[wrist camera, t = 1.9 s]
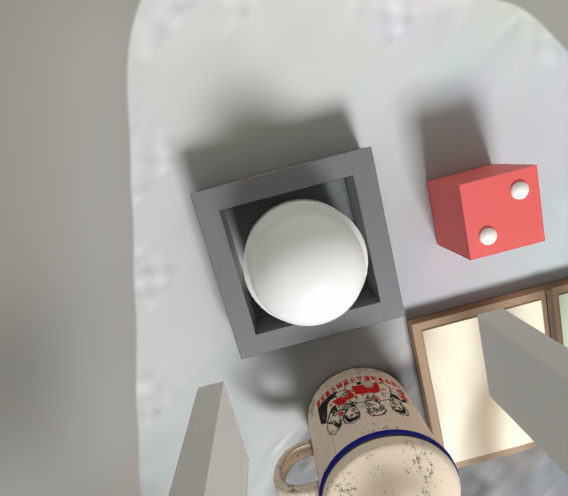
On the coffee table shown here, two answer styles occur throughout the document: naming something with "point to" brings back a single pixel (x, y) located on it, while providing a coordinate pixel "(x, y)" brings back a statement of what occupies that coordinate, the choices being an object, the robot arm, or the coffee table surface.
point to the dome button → (305, 262)
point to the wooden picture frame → (477, 371)
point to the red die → (487, 209)
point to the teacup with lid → (368, 443)
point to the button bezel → (212, 201)
